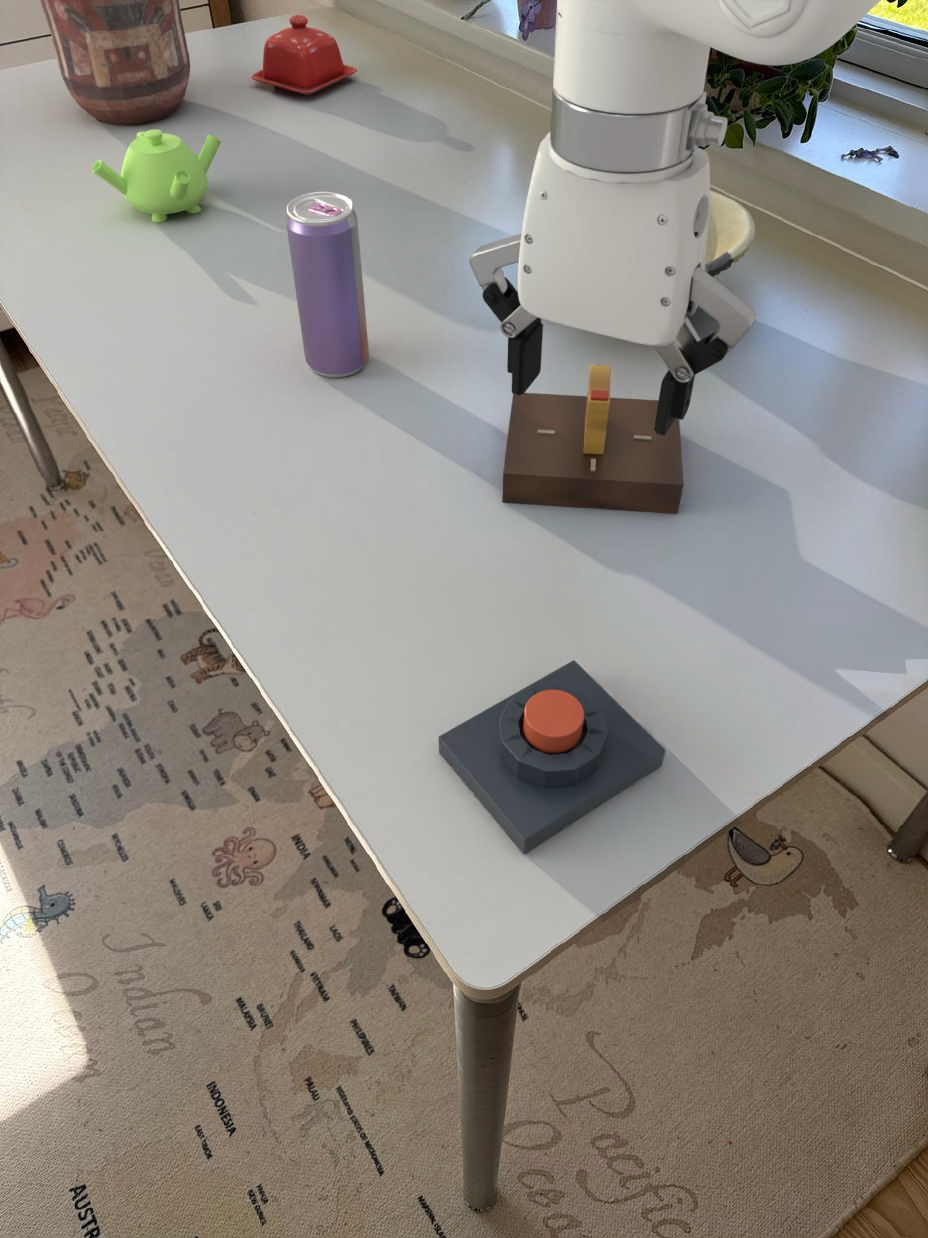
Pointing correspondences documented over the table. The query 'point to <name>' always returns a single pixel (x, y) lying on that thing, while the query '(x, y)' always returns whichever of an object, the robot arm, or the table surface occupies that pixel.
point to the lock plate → (591, 456)
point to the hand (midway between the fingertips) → (594, 402)
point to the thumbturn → (597, 409)
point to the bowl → (727, 233)
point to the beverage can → (328, 282)
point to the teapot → (161, 174)
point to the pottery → (121, 56)
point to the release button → (553, 721)
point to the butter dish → (302, 59)
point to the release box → (549, 759)
